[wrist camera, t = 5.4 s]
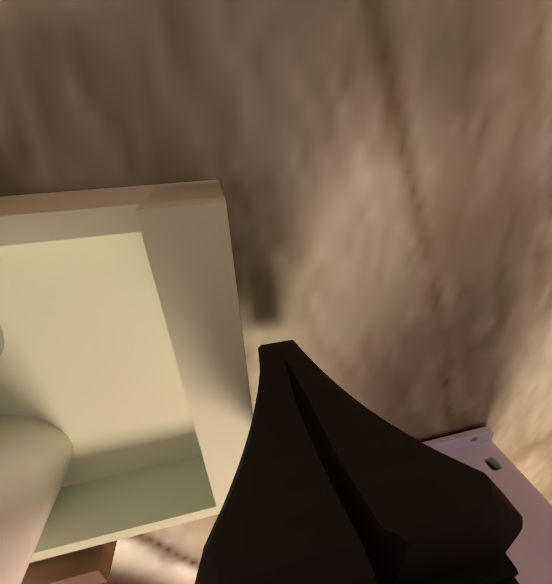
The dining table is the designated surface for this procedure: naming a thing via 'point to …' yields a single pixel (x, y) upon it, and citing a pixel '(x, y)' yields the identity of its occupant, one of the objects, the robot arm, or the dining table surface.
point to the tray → (126, 352)
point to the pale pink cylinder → (27, 487)
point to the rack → (73, 567)
